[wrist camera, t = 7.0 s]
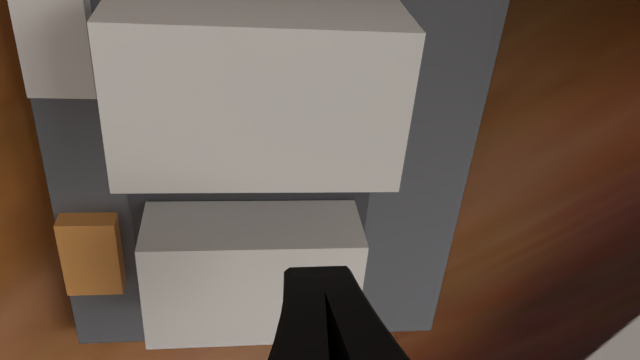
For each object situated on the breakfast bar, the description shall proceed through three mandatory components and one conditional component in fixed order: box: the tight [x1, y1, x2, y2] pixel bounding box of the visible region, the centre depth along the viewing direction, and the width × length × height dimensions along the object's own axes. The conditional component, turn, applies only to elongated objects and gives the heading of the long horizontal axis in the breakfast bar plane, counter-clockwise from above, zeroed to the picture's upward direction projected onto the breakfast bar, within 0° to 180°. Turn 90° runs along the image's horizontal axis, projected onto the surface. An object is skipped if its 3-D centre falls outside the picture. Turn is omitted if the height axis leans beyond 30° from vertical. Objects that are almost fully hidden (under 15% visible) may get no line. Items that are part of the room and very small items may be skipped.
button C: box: [135, 200, 369, 350], centre depth 22 cm, size 8×4×3 cm, turn 86°
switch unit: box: [7, 0, 510, 344], centre depth 19 cm, size 15×26×2 cm, turn 176°
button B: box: [87, 0, 426, 194], centre depth 16 cm, size 8×4×3 cm, turn 86°
